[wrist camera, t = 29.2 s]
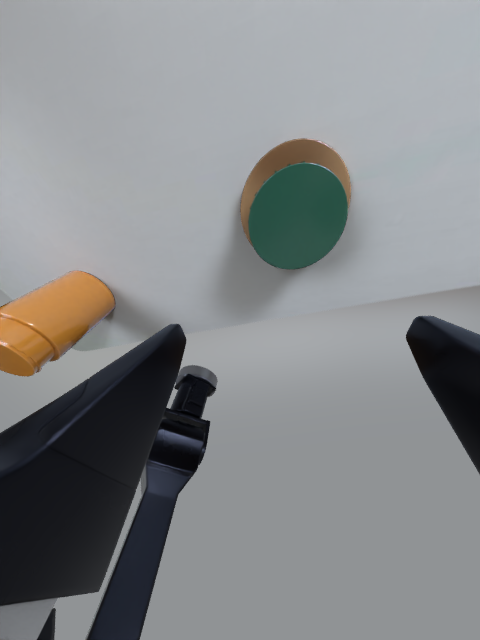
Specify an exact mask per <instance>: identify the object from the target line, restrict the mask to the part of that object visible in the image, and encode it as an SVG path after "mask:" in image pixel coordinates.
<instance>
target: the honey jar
mask: <svg viewBox="0 0 480 640" xmlns="http://www.w3.org/2000/svg"><path fill="white" fill-rule="evenodd" d="M114 308H115V299H114V297H113V295H112V293H111V291H110V290H109V289H108V288H107V286H106V285H105V284H104V283H102V282H101V281H100V280H99V279H97V278H96V277H94V276H92V275H90V274H88V273H85V272H82V271H70V272H68V273H66V274H64V275H62V276H60V277H58V278H56V279H54V280H52V281H50V282H48V283H46V284H44V285H42V286H40V287H38V288H36V289H35V290H33V291H31V292H29V293H27V294H25V295H23V296H21V297H19V298H17V299H15V300H13V301H11V302H9V303H7V304H5V305H3V306H1V307H0V370H2V371H4V372H7V373H10V374H14V375H18V376H31V375H33V374H35V373H37V372H39V371H40V370H41V369H42V367H43V366H44V365H45V364H46V363H47V362H49V361H55V360H58V359H59V358H60V357H61V356H62V355H64V354H65V353H66V352H67V351H68V350H69V349H70V348H71V347H73V346H74V345H75V344H76V343H77V342H78V341H79V340H80V339H82V338H83V337H84V336H85V335H86V334H87V333H88V332H89V331H91V330H92V329H93V328H94V327H95V326H96V325H97V324H98V323H99V322H101V321H102V320H103V319H104V318H105V317H106V316H107V315H108V314H110V313H111V312H112V311H113V310H114Z"/></svg>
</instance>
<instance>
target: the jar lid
mask: <svg viewBox="0 0 480 640" xmlns="http://www.w3.org/2000/svg"><path fill="white" fill-rule="evenodd" d="M274 172H275V173H274V174H272V175H271V176H270V177H269V178H268V179H267V180H266V181H265V180H264V182H263V185H262V186H261V188H260V189H259V191H258V192H256V193H255V198H254V200H253V203H252V205H251V206H250V213H249V220H248V229H249V236H250V239H251V243H252V245H253V247H254V249H255V250H256V252H257V253H258V255H259V256H260V257H261V258H262V259H263V260H264V261H266V262H267V263H269V264H271V265H272V266H275V267H278V268H282V269H299V268H303V267H306V266H309V265H311V264H313V263H315V262H317V261H319V260H320V259H322V258H323V257H324V256H325V255H326V254H327V253H328V252H329V251H330V250H331V249H332V248H333V247H334V246H335V244H336V243H337V241H338V240H339V238H340V236H341V234H342V232H343V230H344V227H345V224H346V220H347V213H348V202H347V196H346V192H345V189H344V187H343V185H342V183H341V181H340V180H339V179H338V177H337V176H336V175H335V174H334V173H333V172H332V171H331V170H329V169H327V168H326V167H323V166H321V165H319V163H316V164H314V163H305V161H302V162H300V163H297V164H293V165H290V164H287V166H286V167H284V168H281V169H280V170H278V171H276V170H275V171H274Z"/></svg>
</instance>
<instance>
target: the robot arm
mask: <svg viewBox="0 0 480 640" xmlns="http://www.w3.org/2000/svg"><path fill="white" fill-rule="evenodd" d="M406 340H407V342H408V345H409V346H410V349H411V351H412V354H413V356H414V358H415V360H416V363H417V365H418V367H419V370H420V372H421V374H422V376H423V378H424V380H425V382H426V383H427V385H428V387H429V389H430V390H431V392H432V394H433V395H434V397H435V398H436V401H437V402H438V404H439V406H440V407H441V409H442V411H443V412H444V414H445V416H446V418H447V419H448V421H449V423H450V424H451V426H452V428H453V429H454V431H455V433H456V435H457V436H458V438H459V440H460V441H461V443H462V445H463V447H464V448H465V450H466V452H467V453H468V455H469V457H470V458H471V460H472V462H473V464H474V465H475V467H476V469H477V471H478V472H479V474H480V335H479V334H477V333H474V332H472V331H469V330H467V329H464V328H462V327H459V326H456V325H454V324H451V323H449V322H446V321H444V320H441V319H439V318H436V317H434V316H418V317H416V318H415V319H414V320H413V322H412V324H411V326H410V328H409V330H408V332H407V334H406ZM185 345H186V337H185V335H184V332H183V330H182V328H181V326H180V325H179V324H170V325H168V326H167V327H165V328H164V329H162V330H161V331H159V332H158V333H156V334H155V335H153V336H152V337H150V338H149V339H147V340H146V341H144V342H143V343H141V344H140V345H138V346H137V347H135V348H134V349H132V350H131V351H129V352H128V353H126V354H125V355H123V356H122V357H120V358H119V359H117V360H116V361H114V362H112V363H111V364H110V365H108V366H106V367H105V368H104V369H102V370H100V371H99V372H97V373H96V374H94V375H93V376H92V377H90V378H89V379H87V380H85V381H84V382H83V383H81V384H79V385H78V386H77V387H75V388H73V389H72V390H70V391H69V392H67V393H65V394H64V395H62V396H61V397H59V398H57V399H56V400H54V401H53V402H51V403H49V404H48V405H46V406H44V407H43V408H41V409H39V410H38V411H36V412H34V413H33V414H31V415H29V416H28V417H26V418H25V419H23V420H21V421H19V422H18V423H16V424H15V425H13V426H11V427H10V428H8V429H6V430H4V431H3V432H1V433H0V640H54V633H55V611H56V609H55V608H53V606H54V604H55V602H56V600H57V598H59V597H67V596H73V595H80V594H87V593H94V592H98V591H99V589H100V587H101V585H102V582H103V580H104V578H105V575H106V572H107V569H108V566H109V564H110V561H111V558H112V555H113V553H114V550H115V547H116V544H117V542H118V539H119V536H120V533H121V530H122V528H123V525H124V522H125V519H126V517H127V514H128V511H129V509H130V506H131V503H132V500H133V498H134V495H135V492H136V489H137V486H138V484H139V481H140V478H141V491H142V496H141V499H140V501H139V504H138V507H137V509H136V512H135V514H134V517H133V519H132V522H131V525H130V527H129V529H128V532H127V535H126V537H125V540H124V542H123V545H122V547H121V550H120V553H119V555H118V557H117V560H116V563H115V565H114V568H113V570H112V573H111V575H110V578H109V580H108V583H107V585H106V588H105V591H104V593H103V596H102V598H101V601H100V603H99V606H98V608H97V611H96V613H95V616H94V619H93V621H92V624H91V626H90V629H89V632H88V634H87V637H86V639H85V640H139V639H140V636H141V632H142V628H143V625H144V621H145V617H146V613H147V609H148V606H149V602H150V598H151V594H152V591H153V587H154V583H155V579H156V575H157V572H158V568H159V564H160V561H161V557H162V553H163V549H164V546H165V542H166V538H167V534H168V530H169V526H170V523H171V519H172V515H173V512H174V508H175V504H176V501H177V497H178V494H179V493H180V491H181V490H182V489H183V488H184V486H185V485H186V484H187V482H188V481H189V480H190V478H191V477H192V476H193V475H194V473H195V472H196V470H197V468H198V465H200V463H201V461H202V459H203V456H204V453H205V450H206V445H207V439H208V433H209V426H210V421H208V420H207V421H206V420H203V419H201V417H202V414H203V410H204V407H205V403H206V400H207V396H209V395H210V394H212V393H213V392H215V391H216V387H214V386H212V385H210V384H209V383H207V382H205V381H203V380H201V379H199V378H197V377H195V376H193V375H191V374H186V375H185V376H184V377H183V378H182V379H181V380H180V381H179V382H178V383H177V384H176V385H175V387H174V384H175V382H176V379H177V376H178V373H179V369H180V365H181V361H182V357H183V353H184V349H185ZM173 387H174V388H175V389H176V390H178V392H177V394H176V397H175V399H174V401H173V404H172V406H171V408H170V409H169V408H166V406H167V404H168V401H169V398H170V395H171V393H172V390H173Z"/></svg>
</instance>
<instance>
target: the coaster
mask: <svg viewBox="0 0 480 640" xmlns="http://www.w3.org/2000/svg"><path fill="white" fill-rule="evenodd" d="M302 161H305V163H314V164H316V163H319V165H321V166H323V167H326V168H327V169H329V170H331V171H332V172H333V173H334V174H335V175H336V176H337V177H338V179H339V180H340V181H341V183H342V185H343V187H344V189H345V192H346V196H347V202H348V208H349V204H350V197H351V185H350V177H349V174H348V170H347V168H346V166H345V163H344V161H343V160H342V158H341V157H340V155H339V154H338V153H337V152H336V151H335V150H334V149H333V148H331V147H330V146H328V145H327V144H325V143H323V142H321V141H318V140H314V139H305V138H302V139H294V140H290V141H287V142H284V143H282V144H280V145H278V146H276V147H275V148H273V149H272V150H270V151H269V152H268V153H267V154H266V155H264V156H263V157H262V158H261V160H260V161H259V162H258V163H257V164H256V166H255V167H254V168H253V170H252V171H251V173H250V175H249V177H248V179H247V181H246V184H245V186H244V190H243V193H242V198H241V208H240V212H241V222H242V226H243V229H244V232H245V235H246V237H247V239H248V240H249V242H250V243H251V239H250V236H249V229H248V220H249V213H250V206H251V205H252V203H253V200H254V198H255V193H256V192H258V191H259V189H260V188H261V186H262V185H263V182H264V180H265V181H266V180H267V179H268V178H269V177H270V176H271V175H272V174H274V173H275V172H274V171H275V170H276V171H278V170H280V169H281V168H284V167H286V166H287V164H290V165H293V164H297V163H300V162H302ZM251 245H252V243H251ZM252 246H253V245H252Z"/></svg>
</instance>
